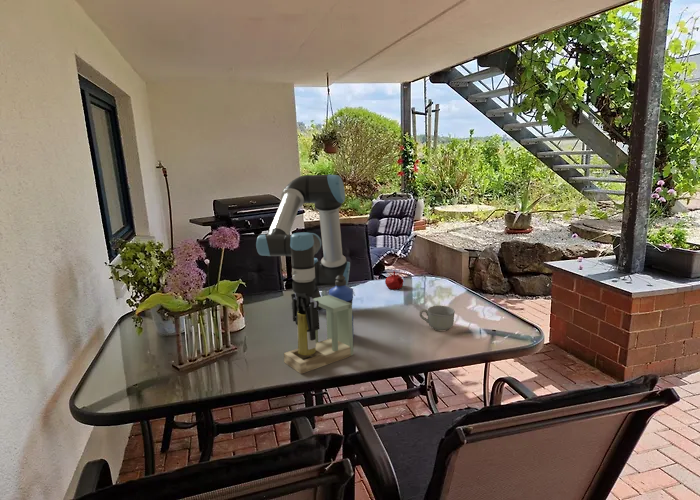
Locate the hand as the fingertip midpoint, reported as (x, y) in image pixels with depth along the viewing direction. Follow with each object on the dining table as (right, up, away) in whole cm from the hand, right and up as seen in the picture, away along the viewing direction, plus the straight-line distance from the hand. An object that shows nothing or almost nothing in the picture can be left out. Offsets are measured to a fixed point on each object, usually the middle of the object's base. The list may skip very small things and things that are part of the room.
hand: (306, 345), depth 150 cm
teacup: (+50, 0, +30) cm, 59 cm away
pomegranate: (+39, +12, +89) cm, 97 cm away
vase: (0, -3, +1) cm, 3 cm away
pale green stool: (+8, -4, +10) cm, 14 cm away
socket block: (+4, -6, +4) cm, 8 cm away
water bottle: (+12, -2, +24) cm, 26 cm away
